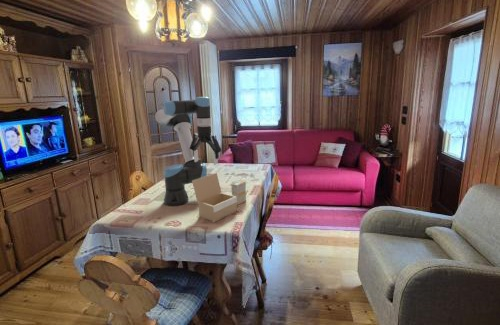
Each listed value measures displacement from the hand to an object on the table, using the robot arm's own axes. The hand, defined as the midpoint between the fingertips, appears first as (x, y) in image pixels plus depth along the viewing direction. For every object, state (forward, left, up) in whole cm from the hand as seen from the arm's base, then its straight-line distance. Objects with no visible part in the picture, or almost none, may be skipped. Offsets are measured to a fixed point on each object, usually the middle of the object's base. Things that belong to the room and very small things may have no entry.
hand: (206, 162), depth 161 cm
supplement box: (+9, +18, -28) cm, 34 cm away
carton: (+11, -2, -28) cm, 30 cm away
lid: (+3, -2, -13) cm, 14 cm away
